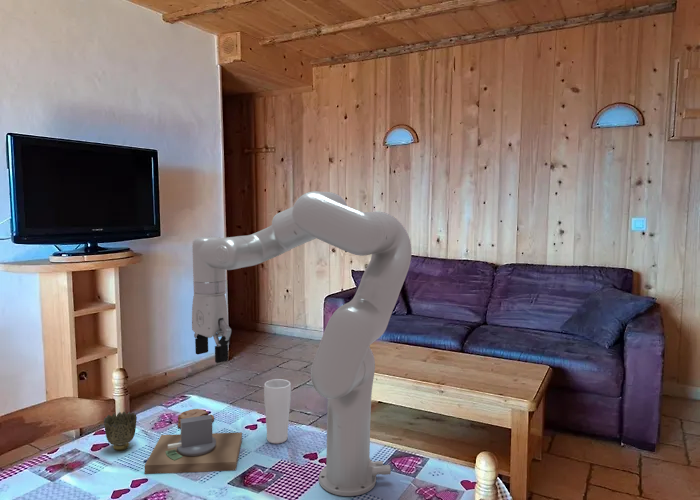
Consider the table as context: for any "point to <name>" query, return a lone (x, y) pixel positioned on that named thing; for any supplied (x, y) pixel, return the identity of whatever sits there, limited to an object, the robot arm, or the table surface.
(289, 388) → the drinking glass
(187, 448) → the tuning knob
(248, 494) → the table surface
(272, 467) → the table surface
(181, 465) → the wooden board
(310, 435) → the table surface
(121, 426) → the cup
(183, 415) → the cookie
